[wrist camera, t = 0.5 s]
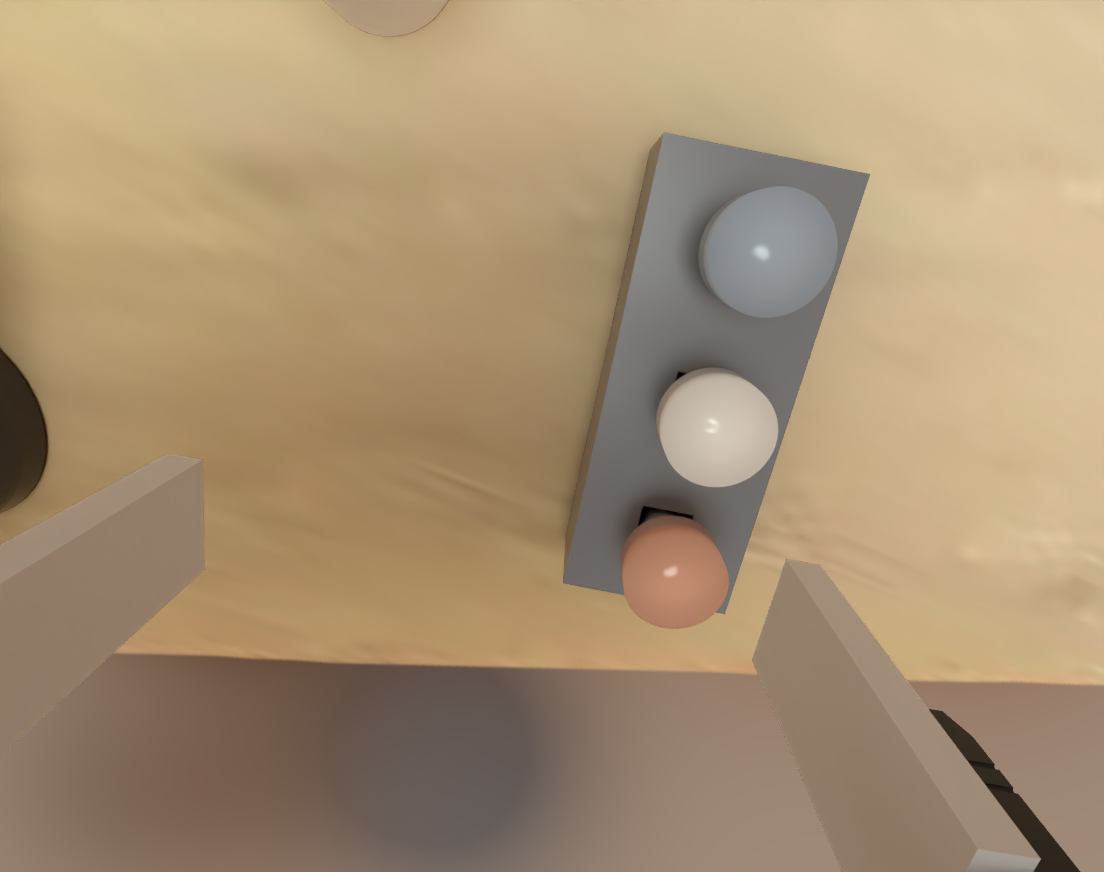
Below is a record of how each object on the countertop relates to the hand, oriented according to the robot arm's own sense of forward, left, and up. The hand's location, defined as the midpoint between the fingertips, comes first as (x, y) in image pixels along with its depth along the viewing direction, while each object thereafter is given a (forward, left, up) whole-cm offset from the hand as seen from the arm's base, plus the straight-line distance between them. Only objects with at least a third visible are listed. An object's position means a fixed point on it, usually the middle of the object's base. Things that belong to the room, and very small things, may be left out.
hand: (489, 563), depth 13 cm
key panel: (+8, 0, -26) cm, 27 cm away
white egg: (+8, 0, -22) cm, 24 cm away
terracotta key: (+8, -8, -22) cm, 25 cm away
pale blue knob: (+8, +8, -22) cm, 25 cm away
